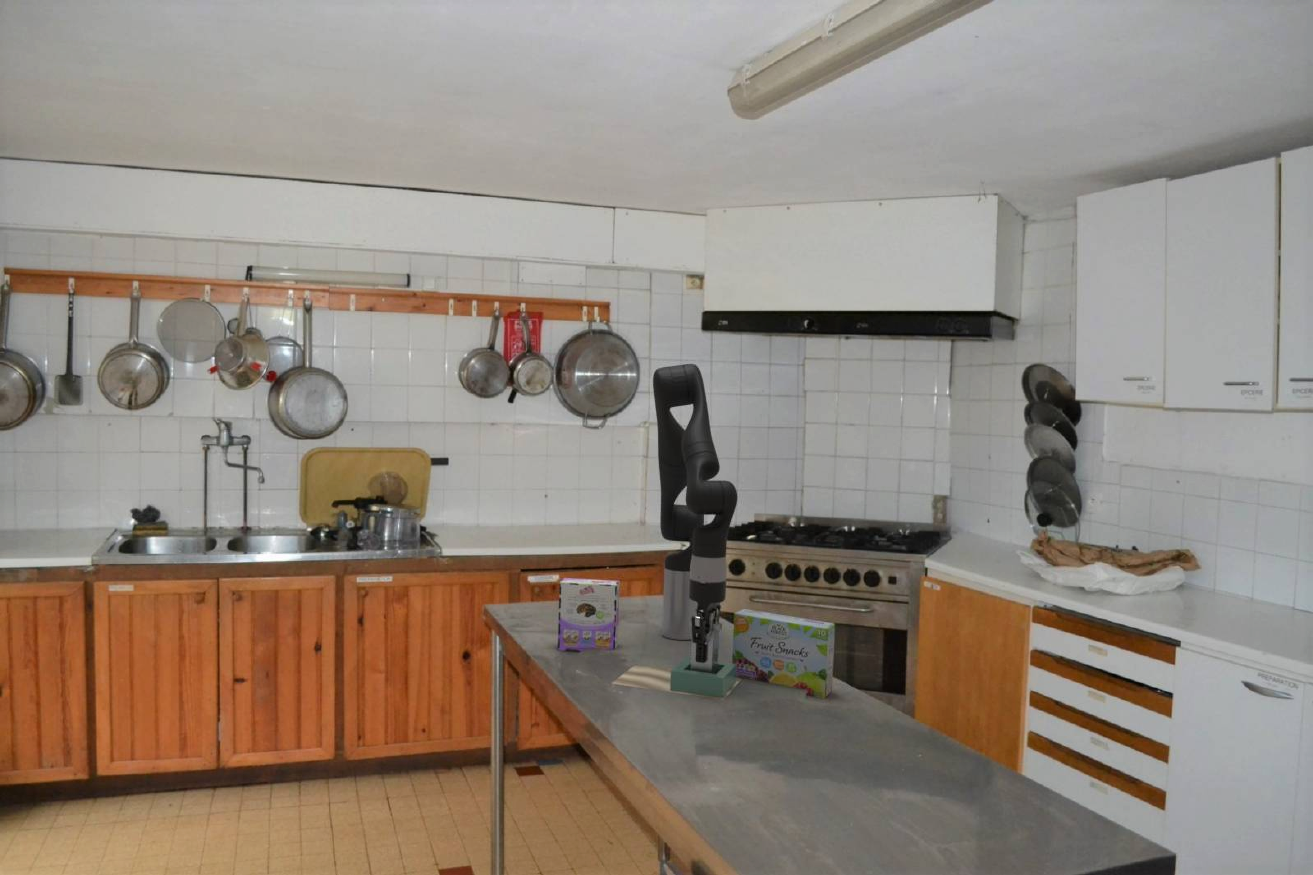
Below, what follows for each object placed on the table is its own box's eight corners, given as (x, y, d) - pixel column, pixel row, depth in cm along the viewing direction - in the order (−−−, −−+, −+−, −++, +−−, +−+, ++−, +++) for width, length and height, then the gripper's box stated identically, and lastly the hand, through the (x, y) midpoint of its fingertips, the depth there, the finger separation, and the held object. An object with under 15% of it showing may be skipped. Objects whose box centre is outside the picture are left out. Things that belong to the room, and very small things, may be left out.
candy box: (618, 648, 230) (620, 579, 229) (614, 654, 224) (617, 584, 224) (561, 644, 232) (563, 576, 231) (556, 650, 226) (558, 581, 225)
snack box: (729, 681, 207) (732, 612, 207) (740, 675, 212) (742, 607, 212) (824, 699, 198) (828, 627, 197) (833, 692, 203) (836, 621, 202)
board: (635, 669, 213) (636, 664, 213) (741, 684, 205) (741, 679, 205) (610, 689, 199) (611, 683, 199) (723, 705, 191) (723, 699, 191)
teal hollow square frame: (686, 675, 206) (686, 657, 206) (736, 682, 202) (736, 663, 202) (670, 690, 196) (670, 671, 195) (722, 698, 192) (723, 678, 192)
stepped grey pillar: (691, 674, 202) (694, 617, 202) (721, 678, 200) (723, 621, 200) (685, 680, 198) (688, 622, 197) (715, 684, 196) (718, 626, 195)
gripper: (700, 569, 206) (696, 648, 207) (680, 581, 192) (676, 665, 193) (734, 573, 203) (730, 652, 204) (716, 585, 190) (712, 670, 191)
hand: (704, 658), depth 199 cm, fingers closed on stepped grey pillar, 4 cm apart
